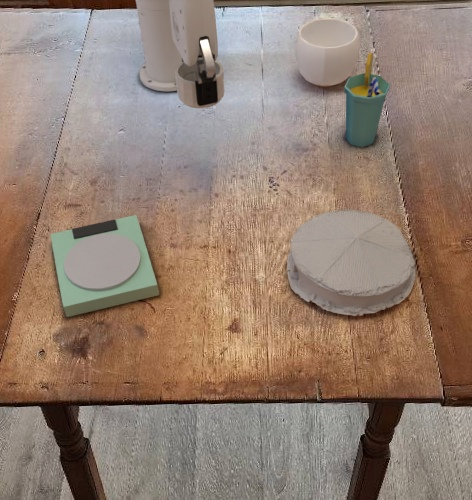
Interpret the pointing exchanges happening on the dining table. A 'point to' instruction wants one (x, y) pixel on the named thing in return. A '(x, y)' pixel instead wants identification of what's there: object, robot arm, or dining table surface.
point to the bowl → (187, 83)
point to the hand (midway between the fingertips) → (200, 89)
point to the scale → (103, 265)
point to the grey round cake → (350, 262)
